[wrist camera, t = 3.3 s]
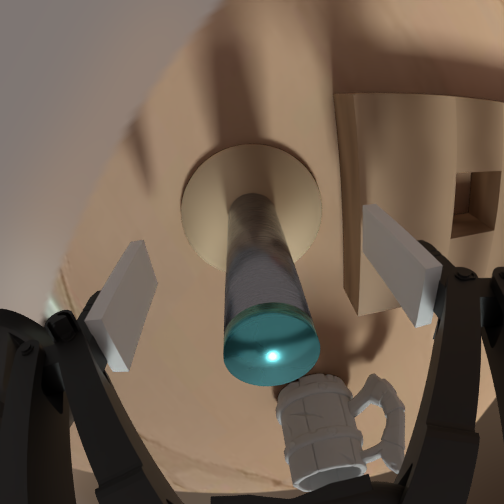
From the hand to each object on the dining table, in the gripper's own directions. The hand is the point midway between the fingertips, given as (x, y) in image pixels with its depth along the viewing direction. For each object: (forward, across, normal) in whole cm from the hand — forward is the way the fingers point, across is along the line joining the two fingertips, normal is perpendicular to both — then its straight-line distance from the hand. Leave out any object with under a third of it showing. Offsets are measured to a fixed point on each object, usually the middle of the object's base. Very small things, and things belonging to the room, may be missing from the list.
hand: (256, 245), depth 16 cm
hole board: (+5, +15, 0) cm, 16 cm away
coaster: (+5, 0, 0) cm, 5 cm away
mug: (+5, +5, -19) cm, 20 cm away
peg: (+4, 0, 0) cm, 4 cm away
